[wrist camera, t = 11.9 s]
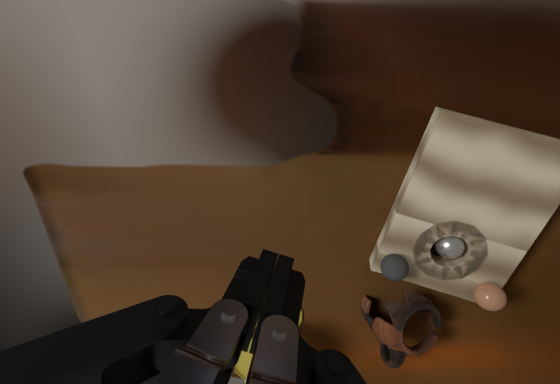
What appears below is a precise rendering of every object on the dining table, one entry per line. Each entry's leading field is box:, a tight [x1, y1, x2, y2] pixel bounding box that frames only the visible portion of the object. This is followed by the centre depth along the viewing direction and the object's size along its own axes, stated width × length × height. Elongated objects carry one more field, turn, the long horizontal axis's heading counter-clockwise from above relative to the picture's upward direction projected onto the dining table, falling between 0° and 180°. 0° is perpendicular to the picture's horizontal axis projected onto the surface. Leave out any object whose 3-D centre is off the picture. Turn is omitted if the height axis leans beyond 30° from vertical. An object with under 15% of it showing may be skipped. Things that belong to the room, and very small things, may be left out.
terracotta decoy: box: [473, 282, 507, 311], centre depth 37 cm, size 3×3×3 cm
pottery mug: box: [361, 290, 442, 368], centre depth 43 cm, size 12×10×8 cm
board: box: [369, 107, 560, 302], centre depth 37 cm, size 22×16×2 cm
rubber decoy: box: [380, 254, 409, 281], centre depth 38 cm, size 3×3×3 cm
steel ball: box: [434, 236, 465, 259], centre depth 38 cm, size 3×3×3 cm
